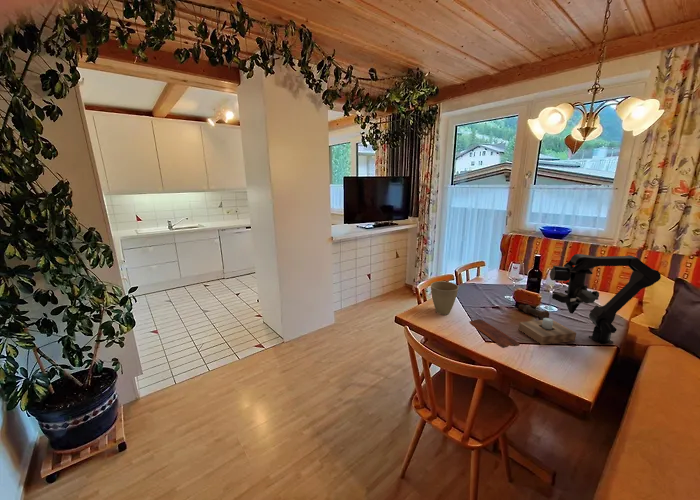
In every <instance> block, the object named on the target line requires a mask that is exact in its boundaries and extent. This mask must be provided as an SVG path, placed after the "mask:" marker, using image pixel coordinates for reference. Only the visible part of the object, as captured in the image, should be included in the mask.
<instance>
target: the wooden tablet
mask: <svg viewBox="0 0 700 500" xmlns="http://www.w3.org/2000/svg"><path fill="white" fill-rule="evenodd" d="M469 324H470V325H471V326H472V327H473V328H475V329H477V331H479V332H481V333H482V334H484V335H485V336H487V338H488V339H491V341H493V342H494V343H496V344H497V345H499V347H502V348H505V349H506V348H508V347H519V346H520V343H519V342H518V341H517V340H515V339H514V338H512V337H510V336H509V335H508V334H506V333H504V332H502V331H501V330H500V329H498V328H497V327H495V326H493V325H491V324H489V323H488V322H486V321H485V320H483V319H481V318H480V319H479V318H477V319H474V320H471V321H469Z"/></svg>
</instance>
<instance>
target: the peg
mask: <svg viewBox="0 0 700 500" xmlns="http://www.w3.org/2000/svg"><path fill="white" fill-rule="evenodd" d="M553 321H554V319H552V318H550V317H549V318H543V323H542V328H543V329H545V330H552V325H553Z"/></svg>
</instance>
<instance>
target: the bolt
mask: <svg viewBox="0 0 700 500" xmlns="http://www.w3.org/2000/svg"><path fill="white" fill-rule="evenodd" d="M518 309H519V310H520V311H522V312H523V313H524V312H525V313H524V314H531V315H534V316H536V317H538V318H540V320H543V318H549V319H550V312H549V311H548V310H543V311H542V310H539V309H536V308H533V307H531V305H529V304H526V305H524V304H519V305H518Z"/></svg>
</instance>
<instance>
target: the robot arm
mask: <svg viewBox="0 0 700 500" xmlns="http://www.w3.org/2000/svg"><path fill="white" fill-rule="evenodd" d="M596 267H598V268H599V267H628V268H629V269H631V270H632V271H633V272H632V273H631V274H630V278H629V281H628V282H627V283H626V284H625V285H624V286H623V287H622V288H620V290H619V291H618V292H616V294H615V295H613V296H612V298H611V299H610V300H609V301H607V302H606V303H605V304H604V305H602V306H599V305H595V306H594V308H593V309H591V310H589V312H590V313H589V315H588V316H589V317H588V318H589V319H590V320H591V322H592V324H594V326H593V329H592V335H588V338H589V339H591V340H593V341H595V342H597V343H598V344H601V345H606V344H608V345H609V344H613V343H614V341H613V340H611V336H612V334H615V333H616V332H617V330H618V329H617V328H616V326H614V324H613V322H615V318H616V315H617V313H618V312H619V311H620V310H621V309H622V308H623V307H624V306H625V305H627V304H628V303H629V302H630V301H631V300H632V299H633V298H634V297H635V296H636V295H637V294H638V293H639V292H641V291H642V290H643V289H646V288H648V287H652V286H653V285H654V284H656V283H657V282H659V281H660V280H661V278H662V274H661V273H660V272H659V271H658V270H656V269H654V268H651V267H650V266H648V265H647V264H646V263H644V262H643V261H642V260H640V259H639V258H638V257H636V256H633V255H618V256H617V255H614V256H613V255H611V256H610V255H609V256H608V255H607V256H605V255H603V256H601V255H600V256H595V255H590V254H583V253H575V254H574V255H573V256H571V257H570V259H569V260H568V262H566V263H565V264H564V265H563V266H561V265H559V266H558V265H553V267H552V268H551V270H550V272H549V278H550V280H551V281H554V282H555V281H556V282H566V283H565V284H566V285H567V290H566V289H565V290H564V293H563V292H554V293H552V296H551V299H553V300H555V301H557V302H560V303H562V304H565V305H566V307H567V309H568V313H569V314H574V313H575V311H576V310H577V308H578V307H579V305H580V304H583V303H584V304H594V302H595V301H596V300H599V298H600V292H599V291H598V290H593V291H592V290H588V285H586V280H587V279H586V278H587V275H593V274H594V272H593V271H592V270H590V269H594V268H596Z"/></svg>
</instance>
